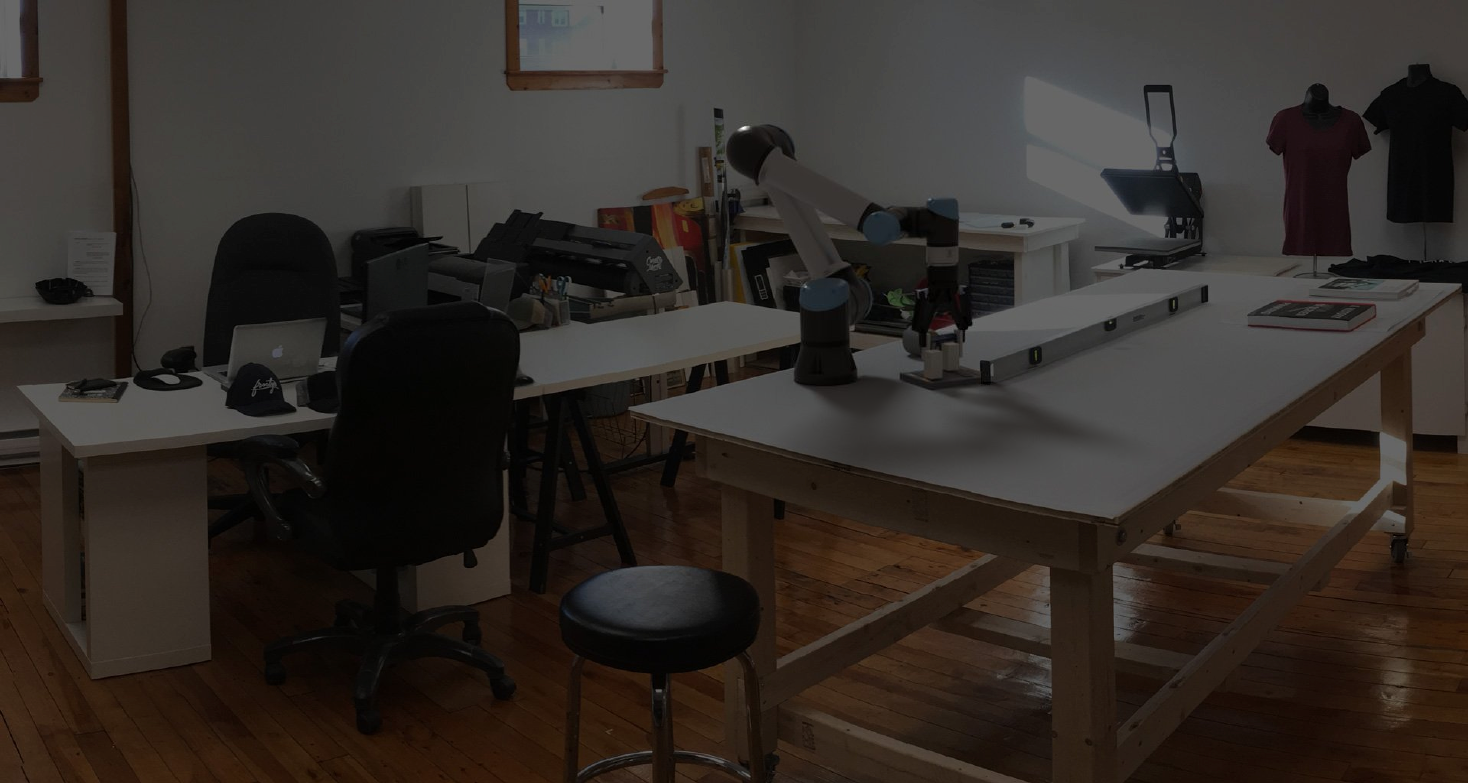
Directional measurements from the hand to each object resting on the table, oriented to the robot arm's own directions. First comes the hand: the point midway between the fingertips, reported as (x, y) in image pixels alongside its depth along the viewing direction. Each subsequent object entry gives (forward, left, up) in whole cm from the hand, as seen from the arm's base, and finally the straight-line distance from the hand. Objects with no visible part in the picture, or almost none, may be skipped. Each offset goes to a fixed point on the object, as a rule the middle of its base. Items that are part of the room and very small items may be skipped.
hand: (942, 358), depth 308 cm
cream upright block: (-9, -10, -2) cm, 13 cm away
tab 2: (0, -4, -2) cm, 4 cm away
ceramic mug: (+10, +23, -4) cm, 26 cm away
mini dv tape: (0, 0, -1) cm, 1 cm away
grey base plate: (-3, -7, -4) cm, 8 cm away
